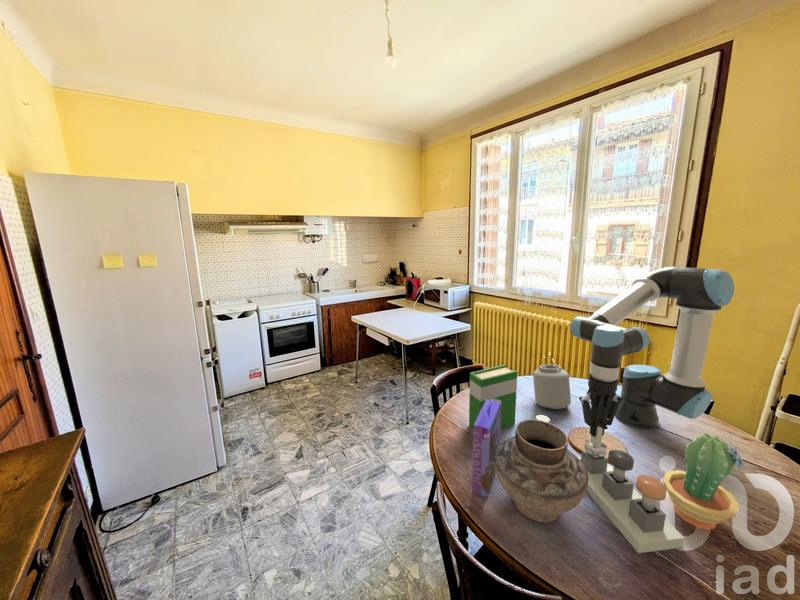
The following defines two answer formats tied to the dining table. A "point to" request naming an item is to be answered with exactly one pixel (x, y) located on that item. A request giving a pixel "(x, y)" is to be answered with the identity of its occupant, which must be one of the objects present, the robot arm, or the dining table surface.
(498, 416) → the cereal box
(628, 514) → the console
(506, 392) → the hardback book
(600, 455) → the plunger
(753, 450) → the dining table surface
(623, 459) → the middle plunger
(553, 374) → the jar
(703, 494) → the potted cactus
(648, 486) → the terracotta plunger
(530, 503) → the ceramic pot
